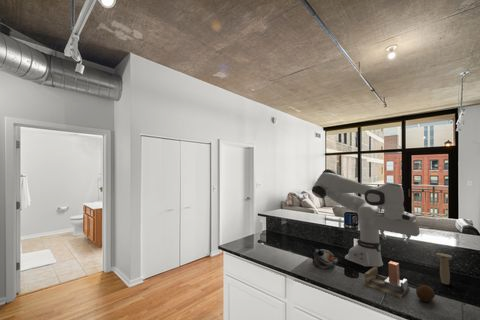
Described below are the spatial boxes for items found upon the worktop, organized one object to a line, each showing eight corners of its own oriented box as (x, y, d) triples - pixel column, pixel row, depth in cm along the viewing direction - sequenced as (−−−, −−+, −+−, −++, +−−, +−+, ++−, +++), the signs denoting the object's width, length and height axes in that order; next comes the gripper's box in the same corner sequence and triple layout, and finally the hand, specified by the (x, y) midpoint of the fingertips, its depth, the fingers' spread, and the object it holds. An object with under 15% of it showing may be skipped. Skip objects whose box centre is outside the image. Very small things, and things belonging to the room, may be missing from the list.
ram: (384, 286, 115) (383, 262, 116) (389, 282, 120) (388, 259, 121) (403, 293, 109) (402, 268, 110) (407, 288, 114) (406, 264, 114)
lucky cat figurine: (337, 264, 147) (341, 248, 141) (332, 277, 138) (337, 261, 132) (314, 253, 155) (317, 238, 148) (308, 265, 146) (311, 250, 139)
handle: (437, 279, 125) (436, 252, 126) (453, 284, 120) (452, 255, 121) (437, 282, 122) (435, 254, 123) (453, 287, 117) (451, 257, 118)
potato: (436, 298, 107) (435, 283, 108) (434, 308, 99) (433, 292, 99) (418, 292, 112) (417, 278, 112) (415, 302, 103) (414, 287, 104)
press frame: (365, 285, 120) (364, 273, 120) (374, 277, 128) (374, 266, 128) (401, 297, 107) (400, 284, 108) (408, 288, 116) (408, 276, 116)
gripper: (370, 212, 123) (370, 237, 123) (416, 217, 108) (417, 247, 107) (374, 210, 127) (375, 235, 127) (419, 216, 112) (421, 244, 111)
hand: (395, 241), depth 117 cm, fingers open, 8 cm apart
